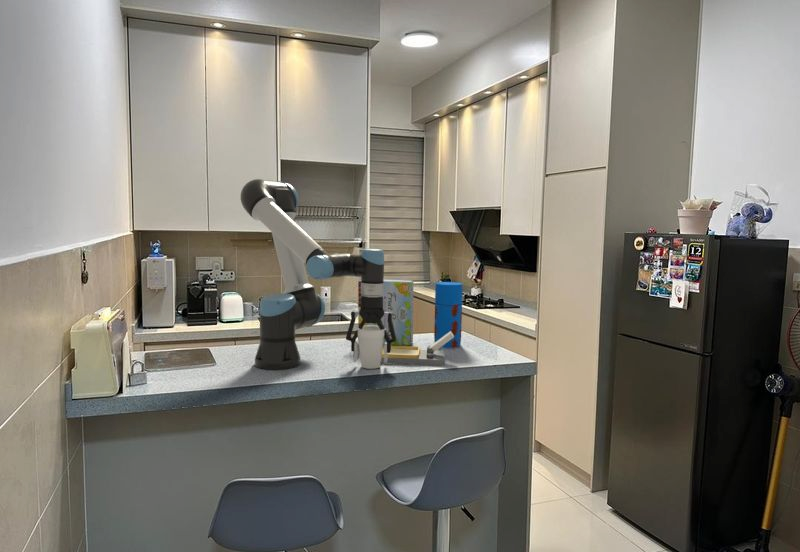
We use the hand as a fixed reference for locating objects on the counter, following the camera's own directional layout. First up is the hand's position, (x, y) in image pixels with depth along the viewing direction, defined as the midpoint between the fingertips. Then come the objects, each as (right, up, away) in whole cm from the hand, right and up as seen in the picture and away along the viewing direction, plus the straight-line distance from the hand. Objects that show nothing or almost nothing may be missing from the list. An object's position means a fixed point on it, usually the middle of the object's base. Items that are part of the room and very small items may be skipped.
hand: (370, 361), depth 182 cm
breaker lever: (+20, +1, +11) cm, 23 cm away
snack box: (+4, +1, +37) cm, 37 cm away
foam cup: (0, -2, 0) cm, 2 cm away
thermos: (+29, +1, +35) cm, 46 cm away
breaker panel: (+13, -1, +12) cm, 17 cm away
